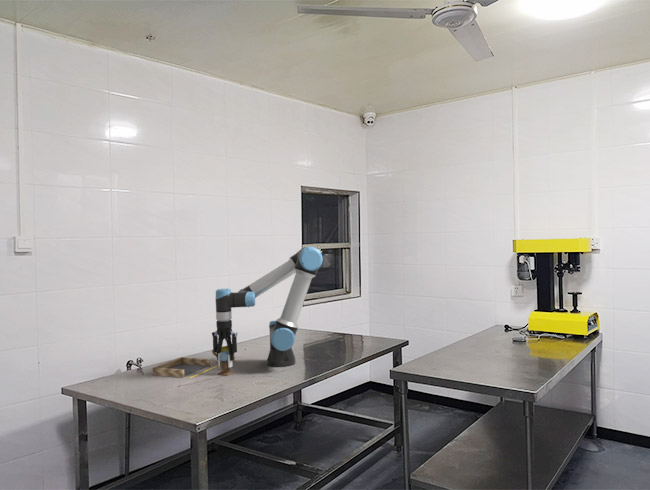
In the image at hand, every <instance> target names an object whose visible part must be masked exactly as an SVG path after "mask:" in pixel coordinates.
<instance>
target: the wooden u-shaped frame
mask: <svg viewBox="0 0 650 490" xmlns="http://www.w3.org/2000/svg"><path fill="white" fill-rule="evenodd" d="M180 364H191V365H204V366H207V367H210V366H211V361H210V358H196V357H195V358H194V357H183V356H181V357H179V358H176V359H173V360H170V361H167V362H165V363H162V364H159V365H157V366H154V367H152V368H151V369H152V371H151V372H152V375H153V376H161V377H171V378H172V377H173V378H184V377H186V376H184V370H182V369H170V368H173V367H175V366H178V365H180Z"/></svg>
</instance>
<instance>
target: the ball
mask: <svg viewBox="0 0 650 490" xmlns="http://www.w3.org/2000/svg"><path fill="white" fill-rule="evenodd" d="M228 354H229V352H227V351H223V352H222V353H221V354H220V358H221V360H222V361H228Z"/></svg>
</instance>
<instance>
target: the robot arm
mask: <svg viewBox="0 0 650 490" xmlns="http://www.w3.org/2000/svg"><path fill="white" fill-rule="evenodd" d="M322 254H323V253H322V252H321V251H320V250H319V249H318V248H316V247H315V246H304V247H302V248H300V249H299V250H298V251H297V252H296V253H295V254H293V255H292V256H290V257H289V259H288V260H287V261H285V262H284V263H282V264H281V265H279V266H278V267H276V268H275V269H273V270H271V271H269V272H268V273H266V274H265V275H263V276H262V277H260V278H259V279H256V280H255V281H254V282H252V283H250V284H249V285H246V287H244V288H241V289H239V290H238V291H237V292H234V291H233V292H232V289H231V288H219V289H216V290H215V320H216V331H213V332H211V336H212V350H213V352H215V353H216V354H217V357H216V359H217V360H218V361H217V362H218V365H217V366H218V368H221V361H222V360H221V358H220V354H221V353H220V352H222V351H221V349H222V347H223V343H224V340H225V342H226V346H228V350H229V354H228V368H230V369H231V368H232V367H233V362H232V360H233V359H234V357H235V353H237V352H238V346H237V345H238V342H237V338H238V337H237V336H238V332H234V331H233V329H232V327H233V321H232V309H233V308H250V307H255V306H256V298H257V297H259V296H261V295H263V294H264V293H266V292H267V291H269V290H271V289H272V288H274V287H275V286H277V285H278V284H280V283H281V282H283V281H285V280H287V279H288V278H289V277H291V276H293V275H294V274H295V275H294V277H293V281H292V284H291V286H290V289H289V292H288V295H287V297H286V301H285V303H284V306H283V309H282V311H281V315H280V317H279V318H276V320H271V321H269V325H268V328H269V329H268V330H269V353H268V355H267V359H266V364H267V366H270V367H277V368H280V367H289V366H290V367H291V366H293V365H295V364H296V361H297V360H296V355H295V354H294V351H293V346H294V344H295V342H296V335H297V332H298V329H299V326H298V319H299V317H300V314H301V311H302V308H303V305H304V302H305V299H306V297H307V294H308V291H309V288H310V285H311V282H312V279H313V278H315V277H316V276H317V274H318V271H319V269H320V268H321V266H322V263H323V260H324V259H323V255H322ZM233 354H234V355H233Z"/></svg>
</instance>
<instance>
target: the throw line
mask: <svg viewBox="0 0 650 490" xmlns="http://www.w3.org/2000/svg"><path fill="white" fill-rule="evenodd" d="M217 367H218V365H215V366H212V367H211V368H208V369H206V370H204V371H201V372H199V373H197V374H194V375H192V376H190V377H188V379H192V378H194V377H197V376H199V375H202V374H204V373H206V372H208V371H210V370H213V369H215V368H217Z"/></svg>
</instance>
